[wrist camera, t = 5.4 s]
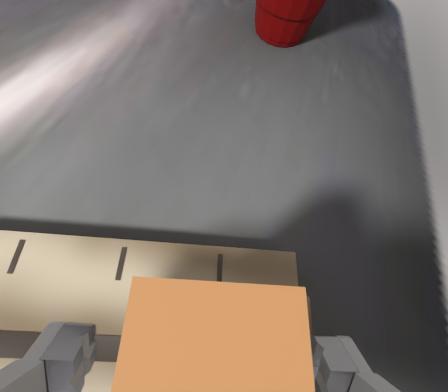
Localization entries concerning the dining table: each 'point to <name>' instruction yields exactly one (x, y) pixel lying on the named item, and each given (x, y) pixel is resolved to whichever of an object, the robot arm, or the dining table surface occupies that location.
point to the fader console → (108, 285)
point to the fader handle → (214, 338)
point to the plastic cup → (285, 20)
